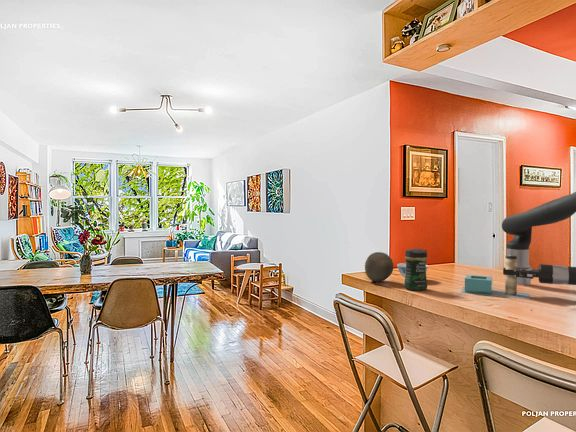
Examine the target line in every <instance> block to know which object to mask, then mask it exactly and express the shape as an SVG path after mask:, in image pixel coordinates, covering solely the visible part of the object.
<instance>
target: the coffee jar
mask: <svg viewBox="0 0 576 432" xmlns="http://www.w3.org/2000/svg"><path fill="white" fill-rule="evenodd" d="M404 259H405V263H406V275H405V277H404V278H405V279H404V288H405V289H406V290H411V291H425V290H427V289H428V278H427V271H426V265H427V260H428V251H427V250H426V249H422V248H408V249H406V250H405V254H404Z"/></svg>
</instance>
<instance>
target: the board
mask: <svg viewBox="0 0 576 432" xmlns="http://www.w3.org/2000/svg"><path fill="white" fill-rule="evenodd" d="M460 294H466V295H467V294H469V295H480V296H489V297H501V298H511V299H519V300H520V299H521V300H530V301H531V296H530V293H529V292H525V291H523V292H522V291H517V295H515V296H513V295H506V294H505V290H502V289H501V290H499V289H492V294H491V295H486V294H476V293H466V292H465V286H464V287H463V288H462V289H461V291H460Z"/></svg>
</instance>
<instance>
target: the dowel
mask: <svg viewBox="0 0 576 432" xmlns="http://www.w3.org/2000/svg"><path fill="white" fill-rule="evenodd" d="M505 268H506V269H508V270H517V256H510V255H507V254H506V255H505ZM504 276H505V287H504V288H505V289H504V291H505V294H506V295H513V296H515V295H517V292H518V291H517V288H518V287H517V285H518V284H517V277H516V276H514V275H504Z"/></svg>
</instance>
